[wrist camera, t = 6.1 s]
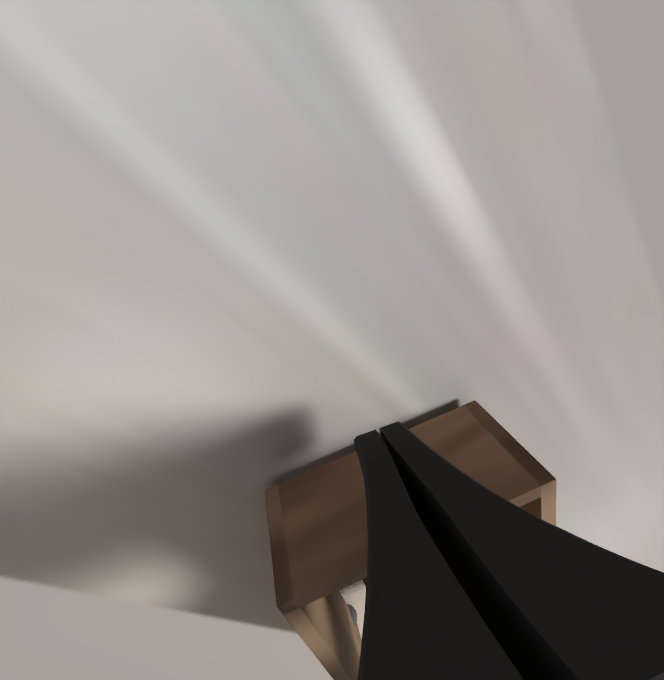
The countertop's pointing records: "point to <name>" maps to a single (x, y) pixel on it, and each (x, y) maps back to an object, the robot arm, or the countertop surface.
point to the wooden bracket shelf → (352, 534)
